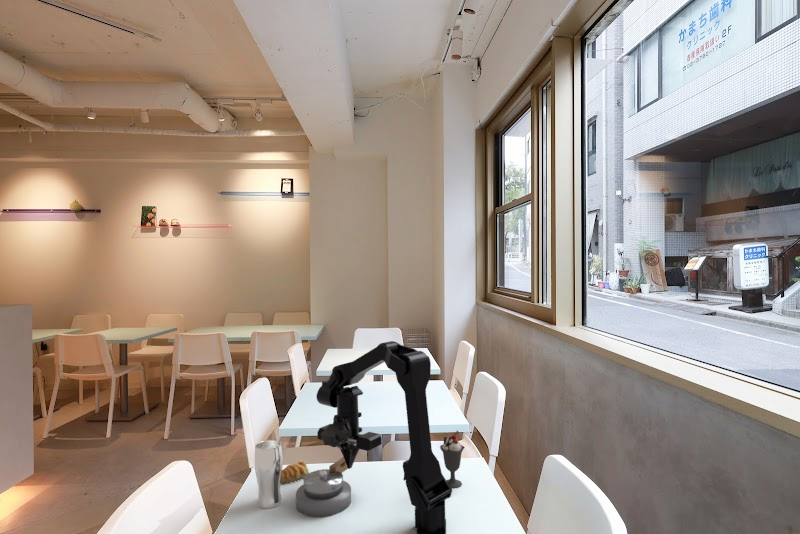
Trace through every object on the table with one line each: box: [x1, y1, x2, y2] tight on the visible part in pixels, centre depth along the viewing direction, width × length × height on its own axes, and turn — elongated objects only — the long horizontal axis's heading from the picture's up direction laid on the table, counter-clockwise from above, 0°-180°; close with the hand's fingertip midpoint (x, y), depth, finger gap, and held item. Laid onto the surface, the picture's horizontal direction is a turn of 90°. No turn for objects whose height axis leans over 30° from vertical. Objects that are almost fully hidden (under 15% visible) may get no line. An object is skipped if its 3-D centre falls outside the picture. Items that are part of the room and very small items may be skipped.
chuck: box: [302, 457, 349, 499], centre depth 123 cm, size 17×10×5 cm, turn 152°
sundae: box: [439, 430, 465, 489], centre depth 128 cm, size 7×7×15 cm
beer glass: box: [254, 439, 284, 510], centre depth 120 cm, size 7×7×15 cm
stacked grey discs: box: [295, 480, 352, 518], centre depth 120 cm, size 14×14×3 cm
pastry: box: [280, 461, 310, 485], centre depth 134 cm, size 9×7×4 cm
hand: (349, 468), depth 127 cm, fingers closed
